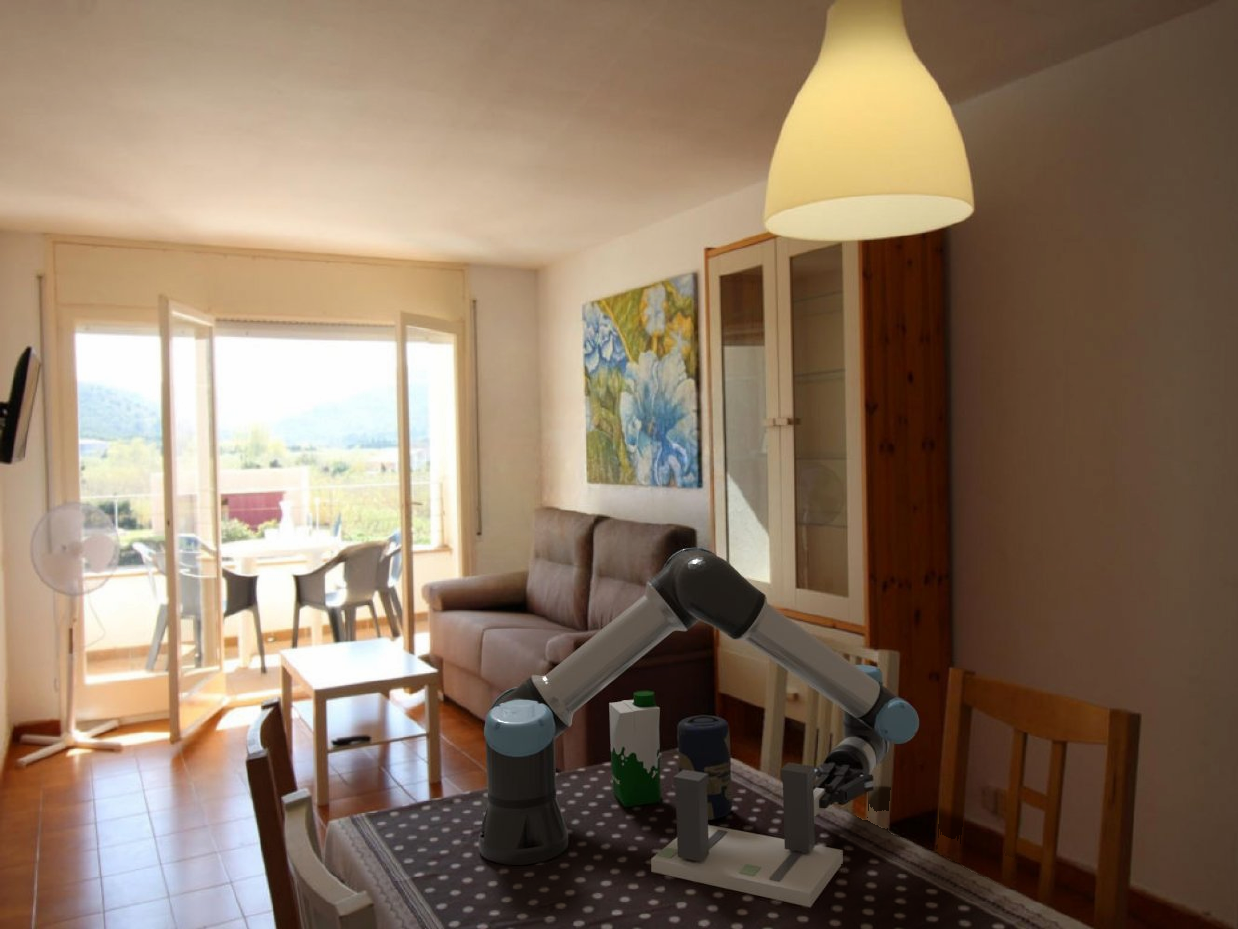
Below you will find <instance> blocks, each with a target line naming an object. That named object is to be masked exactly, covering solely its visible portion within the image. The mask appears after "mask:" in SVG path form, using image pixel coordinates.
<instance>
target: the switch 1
mask: <svg viewBox="0 0 1238 929" xmlns="http://www.w3.org/2000/svg"><path fill="white" fill-rule="evenodd" d="M672 779H673V788H675V807H676V809H675V812H676V813H675V814H676V838H677V846H678V857H680V858H685V859H689V860H694V861H699V862H701V861H702V860H704V859H705V858H706V857H707V856H708V855H709V838H708V825H709V820H708V807H707V785H708V784H709V777H708V773H701V772H695V771H689V770H682V771H681V772H679V771H678V773H677V774H675V775H674V776H673V777H672Z"/></svg>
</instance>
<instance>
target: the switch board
mask: <svg viewBox="0 0 1238 929" xmlns="http://www.w3.org/2000/svg"><path fill="white" fill-rule="evenodd" d="M708 838H709V855H708V856H707V857H706V858H705V859H704V860H702V861H701V862H699V861H694V860H689V859H685V858H680V857H678V846H677V837H676V838H675V839H673V840H671V841H670V843H668V844H667V845H666V846H665V847H664V848H662V849H661V850H660V851H659V852H657V853H656V854H655V855H654V856H653V857H651V859H650V865H651V866H650V867H651V871H650V872H651V873H655V874H660V875H664V876H670V877H674V878H679V879H683V880H687V881H692V882H696V883H701V884H705V885H710V886H715V887H718V888H723V889H727V890H731V891H732V890H733V891H737V892H741V893H746V894H750V895H755V896H760V897H764V898H769V899H771V900H772V899H773V900H777V901H781V902H786V903H789V904H790V903H791V904H793V905H794V904H795V905H799V906H804V907H808V908H811V907H812V906H813V905H814V903H815V901H816V900H817V899H818V898H819V896H820V895H821V893H822V892H823V890H824V889H825V888H826V887H827V885H828V884H829V882H830V881H831V880H832V879H833V877H834V875H835V874H836V873H837V871H839V869H840V867H841V866H842V865H843V863H844V858H843V857H844V856H843V854H844V852H843V851H844V850H842V849H837V848H833V847H827V846H823V845H816V844H815V847H814V848H813V849H812V851H811V852H810V853H804V852H798V851H793V850H788V849H785V842H784V838H780V837H776V836H775V837H773V836H769V835H764V834H759V833H758V834H757V833H754V832H747V831H742V830H738V829H732V828H726V827H722V826H716V825H710V824H708ZM841 864H842V865H841Z"/></svg>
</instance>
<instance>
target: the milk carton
mask: <svg viewBox="0 0 1238 929" xmlns="http://www.w3.org/2000/svg"><path fill="white" fill-rule="evenodd" d="M655 699H656V698H655V692H654V691H652V690H637V691H634V692H633V699H629V700H628V699H627V700H625V699H624V700H621V701H617V702H609V703H608V705H609V709H608V710H609V734H610V735H609V736H610V737H609V739H610V761H611V763H610V764H611V778H612V787H613V794H614V796H615V798H616V799H617V800H618V799H619V800H618V801H619V802H620V803H621V804H622V806H623V807H625V808H631V807H635V806H636V807H637V806H644V805H649V804H657V803H661V800H662V798H661V792H662V791H661V789H662V788H661V753H660V752H661V751H660V750H661V748H660V711H661V708H660V707H659V705H657V703H656V700H655ZM643 804H644V805H643Z"/></svg>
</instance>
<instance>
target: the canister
mask: <svg viewBox="0 0 1238 929" xmlns="http://www.w3.org/2000/svg"><path fill="white" fill-rule="evenodd" d="M676 730H677V753H678V754H677V756H678V773H679V772H681V771H682V770H689V771H695V772H701V773H708V777H709V784H708V785H707V807H708V821H711V820H717V819H721V818H723V817H725V816H728V814H730V812H731V811H732V807H733V795H732V794H733V792H732V771H731V766H732V765H731V764H732V762H731V741H730V739H731V738H730V727H729V723H728V722H727V720H725V719H724V718H722V717H719V716H715V715H704V714H702V715H693V716H689V717H686V718H683V719H681V720H680V721H679V722H678V723H677V729H676Z"/></svg>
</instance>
